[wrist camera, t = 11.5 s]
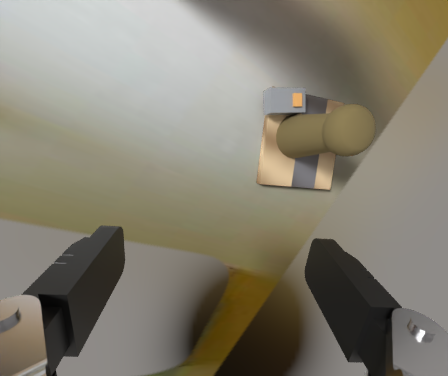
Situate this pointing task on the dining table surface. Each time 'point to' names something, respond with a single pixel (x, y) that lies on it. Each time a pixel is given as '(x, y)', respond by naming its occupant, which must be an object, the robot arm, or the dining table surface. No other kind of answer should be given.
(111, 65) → the dining table surface
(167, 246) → the dining table surface
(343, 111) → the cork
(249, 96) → the dining table surface
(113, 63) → the dining table surface
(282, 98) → the block
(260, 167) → the plywood board
